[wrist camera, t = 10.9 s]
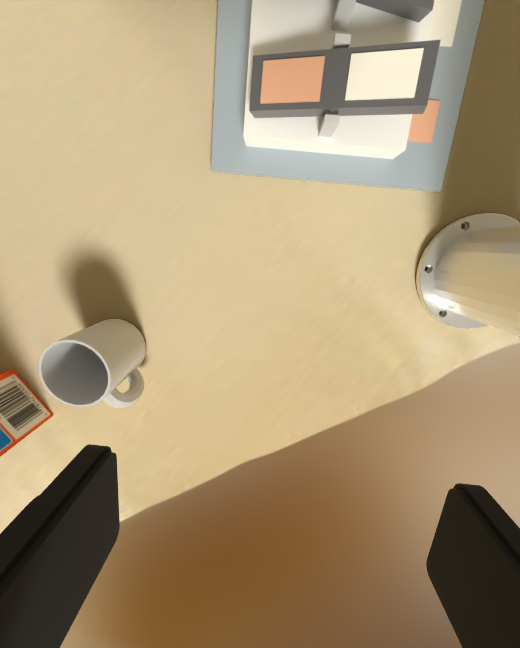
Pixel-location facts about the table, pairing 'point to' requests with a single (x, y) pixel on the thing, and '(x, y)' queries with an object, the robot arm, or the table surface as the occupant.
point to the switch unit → (334, 130)
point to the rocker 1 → (344, 81)
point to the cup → (95, 365)
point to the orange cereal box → (18, 410)
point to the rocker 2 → (402, 7)
